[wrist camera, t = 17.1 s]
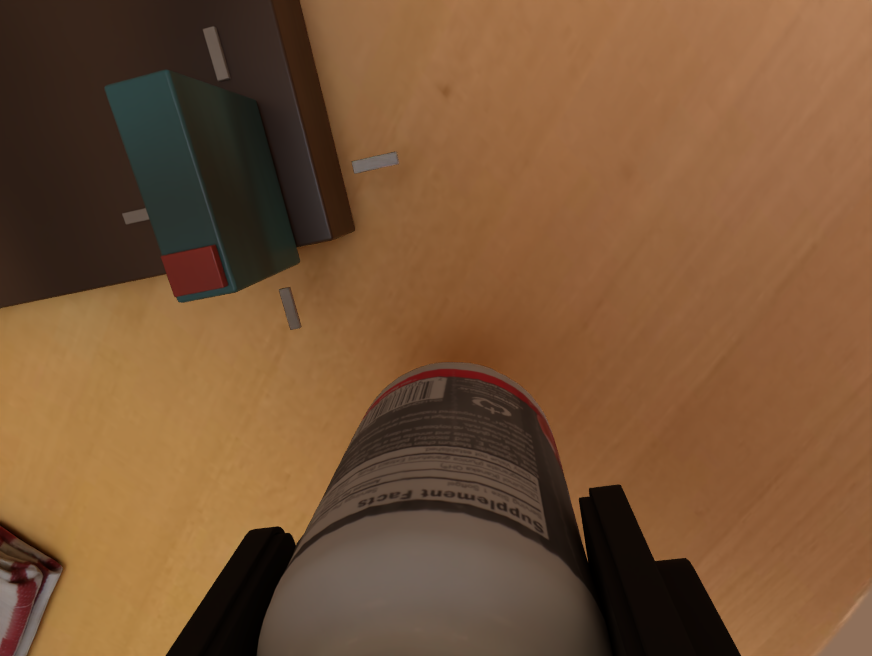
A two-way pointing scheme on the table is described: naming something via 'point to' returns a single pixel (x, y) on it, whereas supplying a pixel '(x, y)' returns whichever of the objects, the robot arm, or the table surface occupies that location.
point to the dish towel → (23, 592)
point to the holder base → (102, 145)
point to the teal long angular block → (204, 182)
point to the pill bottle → (442, 534)
